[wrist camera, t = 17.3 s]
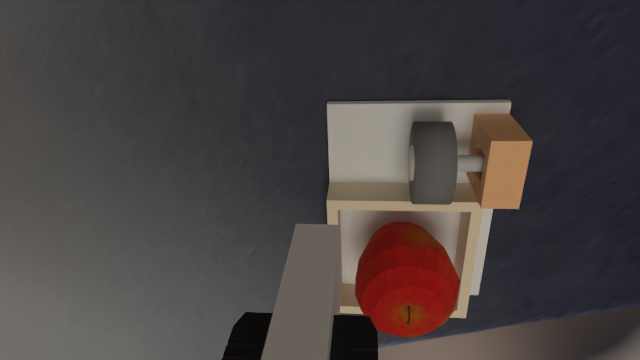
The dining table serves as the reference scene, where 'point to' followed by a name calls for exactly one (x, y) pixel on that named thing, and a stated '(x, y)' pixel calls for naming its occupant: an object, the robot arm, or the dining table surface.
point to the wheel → (436, 162)
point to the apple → (406, 281)
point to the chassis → (393, 180)
